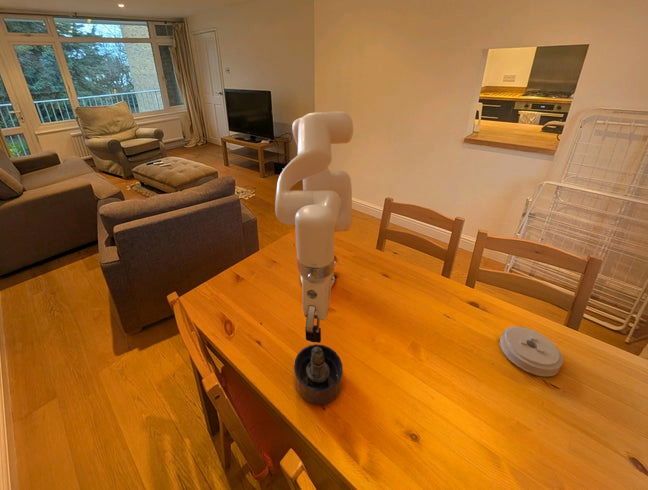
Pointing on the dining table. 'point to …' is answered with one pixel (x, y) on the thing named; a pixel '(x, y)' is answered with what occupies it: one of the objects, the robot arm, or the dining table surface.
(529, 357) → the lid
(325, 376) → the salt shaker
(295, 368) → the dark blue round container
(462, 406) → the dining table surface
